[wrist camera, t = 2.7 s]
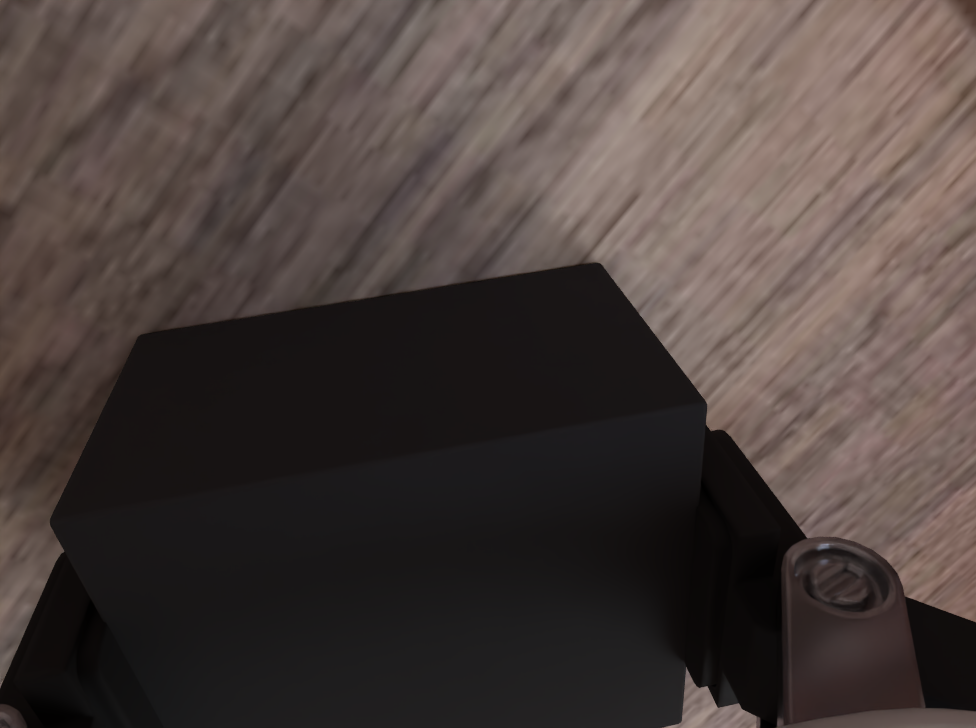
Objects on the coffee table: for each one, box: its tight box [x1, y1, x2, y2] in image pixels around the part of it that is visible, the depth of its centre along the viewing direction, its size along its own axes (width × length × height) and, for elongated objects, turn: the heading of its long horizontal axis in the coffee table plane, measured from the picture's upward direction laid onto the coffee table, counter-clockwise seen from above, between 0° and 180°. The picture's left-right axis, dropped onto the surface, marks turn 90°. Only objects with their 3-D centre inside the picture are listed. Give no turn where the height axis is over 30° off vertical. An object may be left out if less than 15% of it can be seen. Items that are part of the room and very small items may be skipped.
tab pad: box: [50, 263, 707, 728], centre depth 12 cm, size 9×7×4 cm
